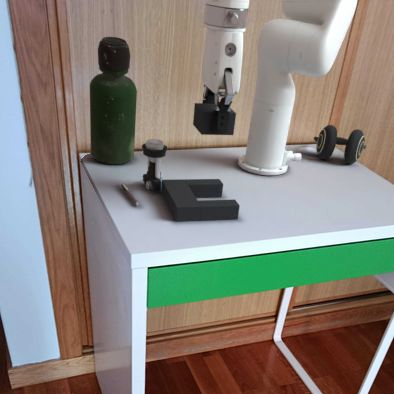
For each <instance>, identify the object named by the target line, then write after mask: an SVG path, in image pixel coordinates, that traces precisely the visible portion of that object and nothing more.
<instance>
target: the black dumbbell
mask: <svg viewBox="0 0 394 394" xmlns="http://www.w3.org/2000/svg"><path fill="white" fill-rule="evenodd" d="M313 140H314V141H315V142H316V146H315V147H316V148H315V149H316V153H317V155H318V157H319V158H320V159H321V160H328V159H330V158H331V157H332V155H333V153H334V151H335V149H336V145H337V146H345V147H344V152H343V159H344V162H345V163H346V164H349V165H353V164H355V163H356V162H357V161H359V160H360V158H361V157H362V154H363V151H364V150H365V149H367V145H366V136H365V133H364V132H363V131H362V129H358V128H356V129H354V130H352V131H351V133H350V134H349V136H348V138H344V137H341V136H338V129H337V127H336V126H335V125H333V124H328V125H326V126H325V127H323V128H322V129H321V130H320V132H319V133H318V136H314V137H313Z"/></svg>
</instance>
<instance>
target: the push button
mask: <svg viewBox="0 0 394 394" xmlns="http://www.w3.org/2000/svg"><path fill="white" fill-rule="evenodd" d="M141 149H142V154H143V156H145V157H146V158H147V170H146V173H143V174H142V175H141V177H142V179H141V181H142V182H143V185H144V187H145V189H147V190H149V191H150V190H151V191H152V193H154V194H156V193H161V191H162V180H163V178H162V172H161V168H162V167H161V165H162V159H163V158H165V157H166V155H167V151H168V146H167V145H166V144H164V141H163V140H161V139H157V138H150V139H146V141H145V143H142V145H141Z"/></svg>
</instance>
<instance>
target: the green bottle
mask: <svg viewBox="0 0 394 394" xmlns="http://www.w3.org/2000/svg"><path fill="white" fill-rule="evenodd" d="M130 51H131V50H130V47H129V44H128V43H127V40H125V39H123V38H121V37H115V36H105V37H104V36H103V37H102V38H101V40H100V41H99V42H98V47H97V63H98V69H99V71H100V72H101V73H98V74H96V75H94V76H93V78H92V79H91V80H90V83H89V115H90V116H89V125H90V126H89V127H90V131H89V133H90V155H91V157H92V158H93V159H95V160H96V161H98V162H101V163H103V164H107V165H123V164H127V163H129V162H131V161H132V160H133V159H134V157H135V143H136V141H135V139H136V120H137V100H138V99H137V98H138V90H137V86H136V84H135V82H134V81H133V79H131V78H130V77H128V76H127V74H128V73H129V69H130V66H131V52H130Z"/></svg>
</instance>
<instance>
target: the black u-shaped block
mask: <svg viewBox="0 0 394 394" xmlns="http://www.w3.org/2000/svg"><path fill="white" fill-rule="evenodd" d="M223 189H224V183H223V182H222V180H221V179H220V178H190V179H188V178H186V179H185V178H184V179H183V178H182V179H174V178H173V179H162V191H161V192H160V194H161V195H162V197H163V199H164V202H165V203H166V205H167V207H168V209H169V211H170V213H171V214H172V217H173V218H174V221H175V222H177V223H178V222H203V221H230V220H231V221H232V220H233V221H234V220H235V221H236V220H238V219H239V214H240V208H241V207H240V204H239V203H238V202H237V200H236V199H206V198H222V197H223V192H224V191H223ZM199 198H200V200H198V199H199ZM203 198H205V199H203ZM201 199H202V200H201Z"/></svg>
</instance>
